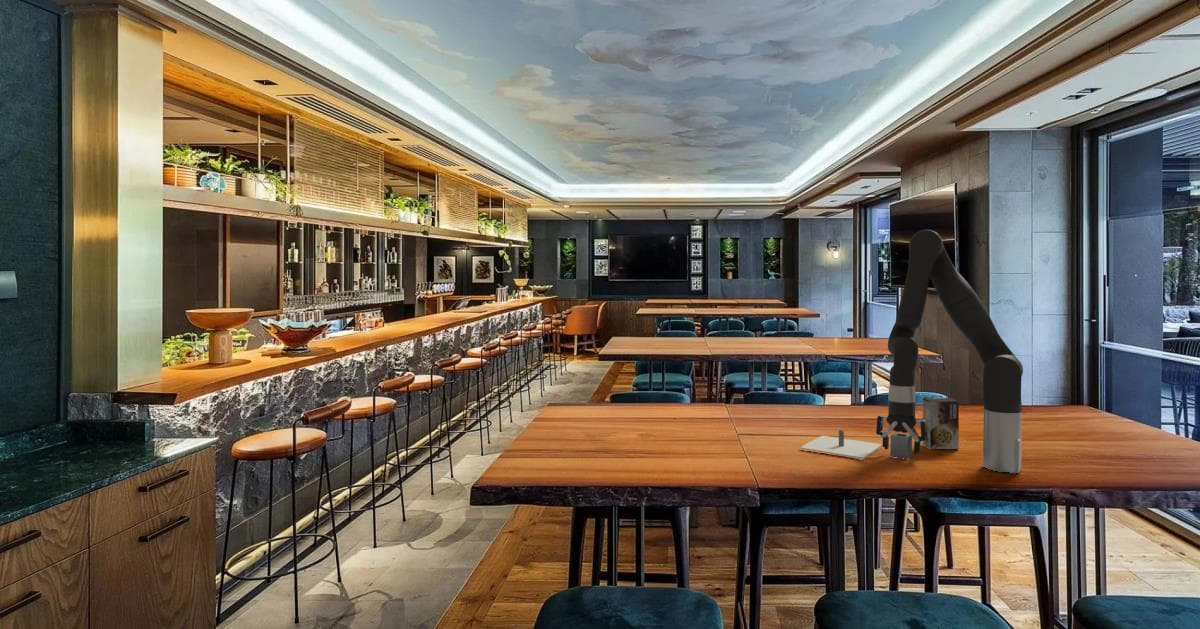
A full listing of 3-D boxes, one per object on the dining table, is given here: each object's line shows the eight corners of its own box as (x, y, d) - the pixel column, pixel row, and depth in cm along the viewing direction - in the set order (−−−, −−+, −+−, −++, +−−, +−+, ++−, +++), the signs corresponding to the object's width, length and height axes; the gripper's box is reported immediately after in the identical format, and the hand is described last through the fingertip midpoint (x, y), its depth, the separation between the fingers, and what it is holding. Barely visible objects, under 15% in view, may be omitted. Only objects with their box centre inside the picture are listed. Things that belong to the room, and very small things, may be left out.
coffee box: (950, 445, 210) (950, 397, 210) (959, 450, 204) (960, 400, 203) (921, 445, 211) (922, 397, 211) (929, 450, 205) (930, 400, 204)
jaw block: (911, 456, 197) (912, 434, 197) (907, 460, 193) (908, 437, 193) (894, 454, 200) (894, 432, 200) (890, 457, 196) (890, 435, 196)
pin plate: (882, 447, 209) (882, 428, 208) (863, 460, 193) (863, 440, 193) (821, 438, 221) (822, 420, 221) (799, 450, 206) (799, 431, 206)
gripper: (930, 400, 194) (929, 452, 195) (881, 395, 203) (880, 445, 204) (924, 403, 188) (923, 457, 189) (874, 398, 197) (873, 450, 198)
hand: (901, 451), depth 197 cm, fingers open, 8 cm apart
